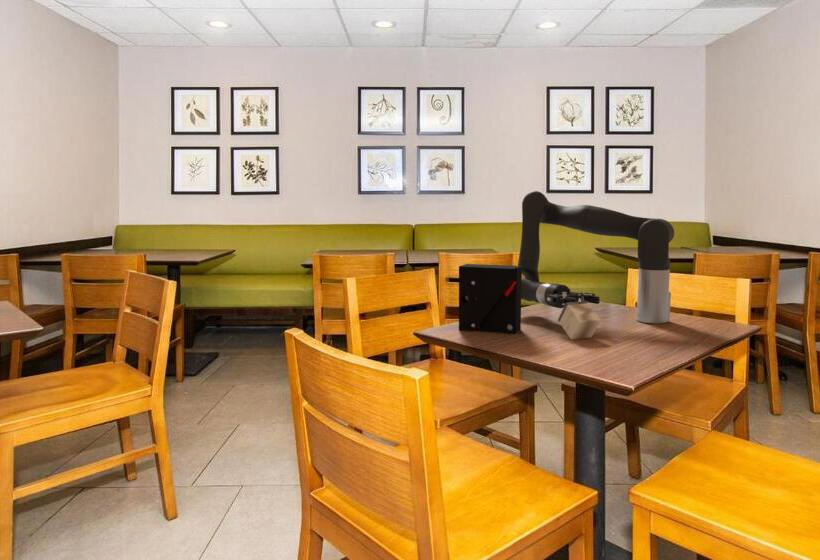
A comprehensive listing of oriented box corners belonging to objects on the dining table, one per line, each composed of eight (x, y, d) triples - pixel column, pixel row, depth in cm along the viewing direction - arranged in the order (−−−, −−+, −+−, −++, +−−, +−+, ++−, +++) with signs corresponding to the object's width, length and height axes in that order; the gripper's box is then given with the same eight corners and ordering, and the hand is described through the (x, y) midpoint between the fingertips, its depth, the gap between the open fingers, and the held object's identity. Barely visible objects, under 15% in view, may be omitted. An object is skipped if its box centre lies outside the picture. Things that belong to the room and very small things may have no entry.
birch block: (586, 301, 162) (600, 320, 156) (577, 318, 166) (591, 337, 160) (565, 302, 159) (579, 322, 154) (557, 320, 164) (570, 339, 158)
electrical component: (522, 328, 172) (523, 265, 170) (514, 336, 163) (515, 268, 160) (468, 324, 180) (469, 263, 177) (458, 330, 170) (458, 266, 168)
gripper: (534, 284, 175) (567, 290, 160) (571, 282, 180) (606, 287, 165) (534, 308, 175) (567, 315, 160) (571, 304, 181) (606, 312, 166)
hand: (587, 301), depth 163 cm, fingers open, 8 cm apart
